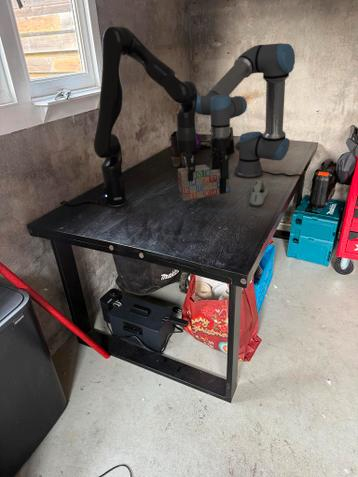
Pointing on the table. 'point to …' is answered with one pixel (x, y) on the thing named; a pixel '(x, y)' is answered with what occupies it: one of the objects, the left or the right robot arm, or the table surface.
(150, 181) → the table surface
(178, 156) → the boot
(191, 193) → the stack of blocks
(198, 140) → the decorative orb
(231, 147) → the handbag
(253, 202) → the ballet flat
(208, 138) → the pair of gloves
